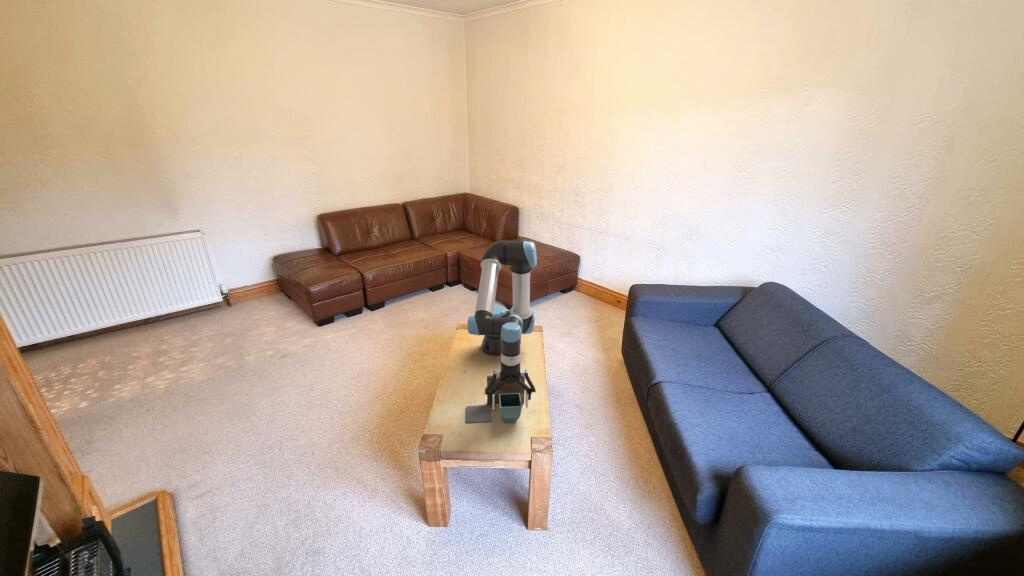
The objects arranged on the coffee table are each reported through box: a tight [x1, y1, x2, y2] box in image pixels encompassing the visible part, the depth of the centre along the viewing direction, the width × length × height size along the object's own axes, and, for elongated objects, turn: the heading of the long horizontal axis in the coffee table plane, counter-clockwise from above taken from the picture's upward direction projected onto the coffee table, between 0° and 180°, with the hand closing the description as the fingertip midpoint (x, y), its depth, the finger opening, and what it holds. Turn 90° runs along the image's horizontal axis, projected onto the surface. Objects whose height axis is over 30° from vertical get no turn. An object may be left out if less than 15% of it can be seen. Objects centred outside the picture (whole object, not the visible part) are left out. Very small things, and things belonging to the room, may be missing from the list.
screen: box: [486, 374, 526, 409], centre depth 170 cm, size 6×16×14 cm, turn 95°
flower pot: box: [499, 393, 523, 423], centre depth 162 cm, size 9×9×9 cm
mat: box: [465, 404, 492, 424], centre depth 165 cm, size 10×10×1 cm
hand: (510, 406), depth 161 cm, fingers open, 13 cm apart
